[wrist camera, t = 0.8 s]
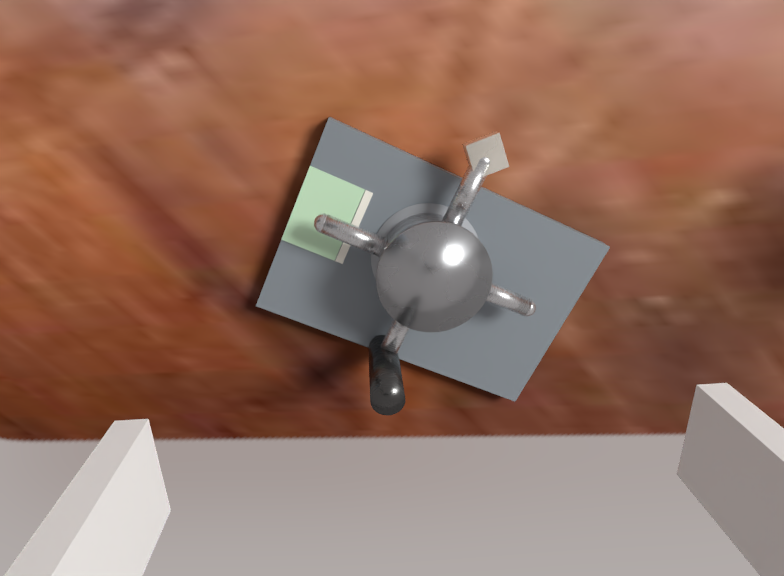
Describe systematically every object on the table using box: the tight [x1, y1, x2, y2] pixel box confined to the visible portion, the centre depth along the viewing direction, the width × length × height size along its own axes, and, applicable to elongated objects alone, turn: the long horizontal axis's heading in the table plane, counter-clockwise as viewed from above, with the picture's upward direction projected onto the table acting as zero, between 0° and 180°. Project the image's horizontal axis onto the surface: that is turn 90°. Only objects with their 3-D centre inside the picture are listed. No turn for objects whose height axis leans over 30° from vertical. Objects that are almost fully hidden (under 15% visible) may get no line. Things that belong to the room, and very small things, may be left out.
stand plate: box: [256, 117, 610, 401], centre depth 35 cm, size 20×13×1 cm, turn 66°
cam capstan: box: [314, 131, 536, 415], centre depth 30 cm, size 15×17×7 cm
